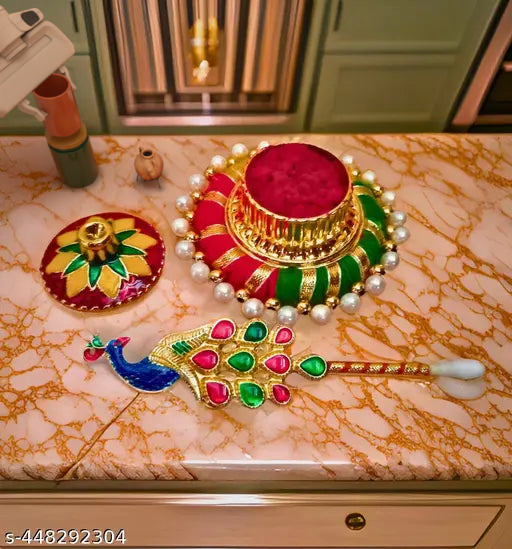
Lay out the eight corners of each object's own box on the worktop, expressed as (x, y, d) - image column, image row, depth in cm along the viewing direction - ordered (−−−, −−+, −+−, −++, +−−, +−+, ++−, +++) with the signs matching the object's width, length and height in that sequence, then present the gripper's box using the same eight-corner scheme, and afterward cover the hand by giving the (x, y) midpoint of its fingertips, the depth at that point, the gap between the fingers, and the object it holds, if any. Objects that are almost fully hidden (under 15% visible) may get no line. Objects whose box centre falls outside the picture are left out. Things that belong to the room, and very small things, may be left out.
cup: (52, 141, 107) (38, 103, 99) (40, 119, 110) (26, 80, 102) (86, 129, 109) (75, 91, 101) (74, 107, 112) (62, 69, 104)
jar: (67, 193, 118) (52, 151, 108) (54, 168, 122) (38, 125, 112) (104, 179, 121) (92, 137, 110) (90, 154, 124) (77, 111, 114)
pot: (142, 168, 123) (132, 188, 119) (139, 138, 117) (128, 157, 113) (169, 173, 123) (159, 193, 119) (167, 143, 117) (157, 163, 113)
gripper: (-39, 68, 92) (28, 135, 98) (43, 3, 102) (100, 68, 108) (-49, 82, 97) (15, 145, 103) (31, 18, 107) (85, 79, 113)
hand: (59, 105), depth 105 cm, fingers closed on cup, 7 cm apart
